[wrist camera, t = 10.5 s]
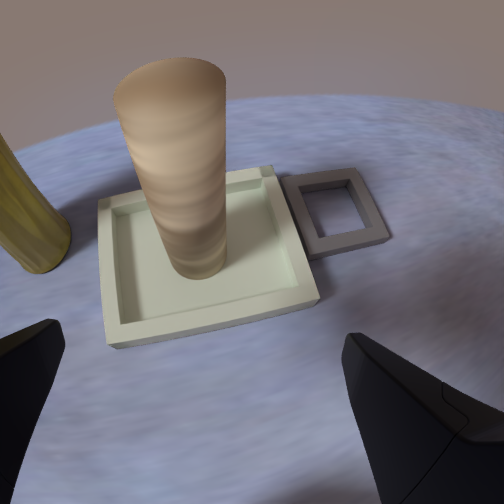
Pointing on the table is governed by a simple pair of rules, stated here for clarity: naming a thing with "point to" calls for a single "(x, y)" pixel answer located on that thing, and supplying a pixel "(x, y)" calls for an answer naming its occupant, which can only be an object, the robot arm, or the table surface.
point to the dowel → (180, 156)
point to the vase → (29, 219)
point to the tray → (207, 290)
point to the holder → (340, 242)
